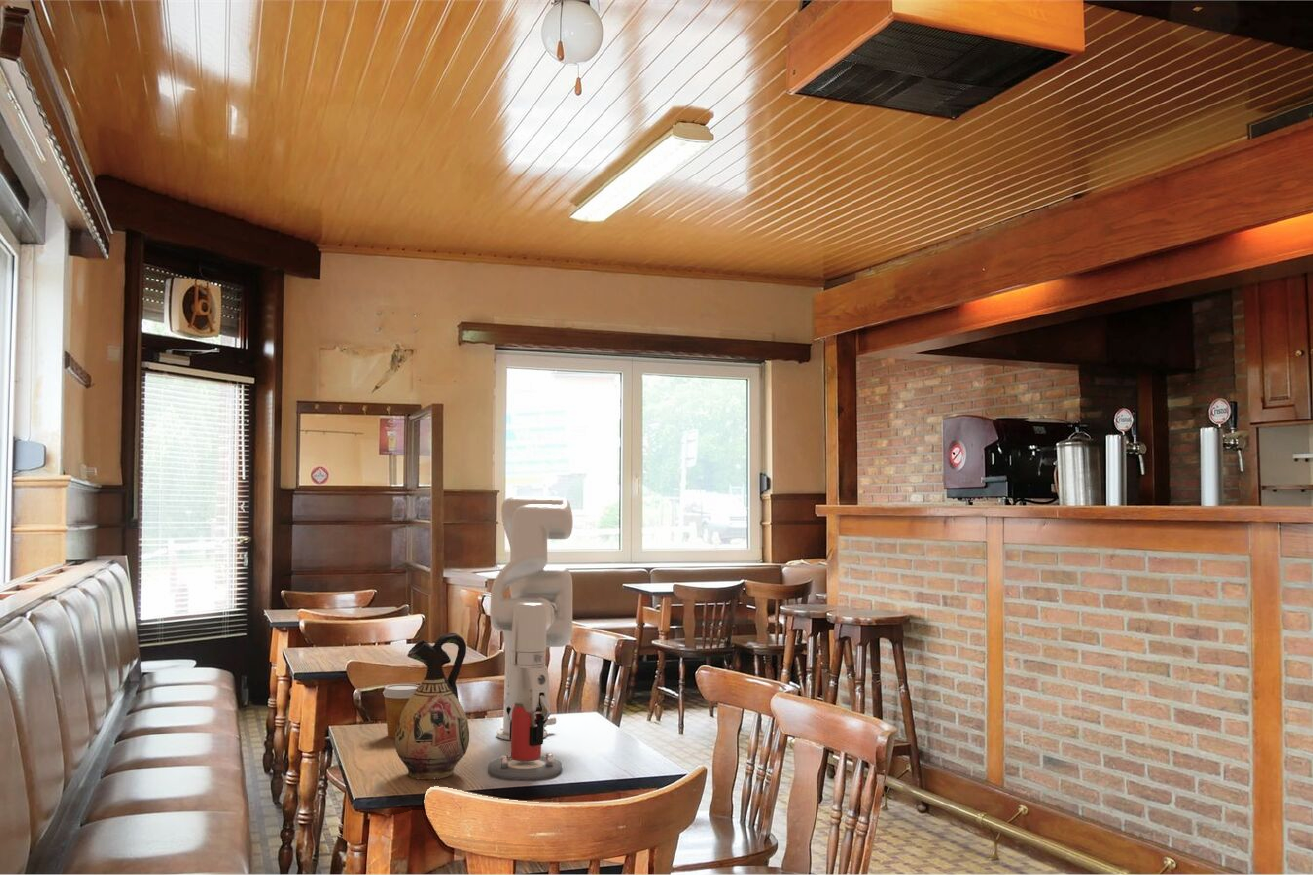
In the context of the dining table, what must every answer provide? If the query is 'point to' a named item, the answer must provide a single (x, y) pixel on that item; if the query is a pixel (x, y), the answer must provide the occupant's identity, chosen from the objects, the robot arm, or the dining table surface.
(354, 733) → the dining table surface
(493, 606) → the robot arm
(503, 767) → the steel pins
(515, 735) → the beer can
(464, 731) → the ceramic jug
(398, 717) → the disposable coffee cup
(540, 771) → the pin plate
